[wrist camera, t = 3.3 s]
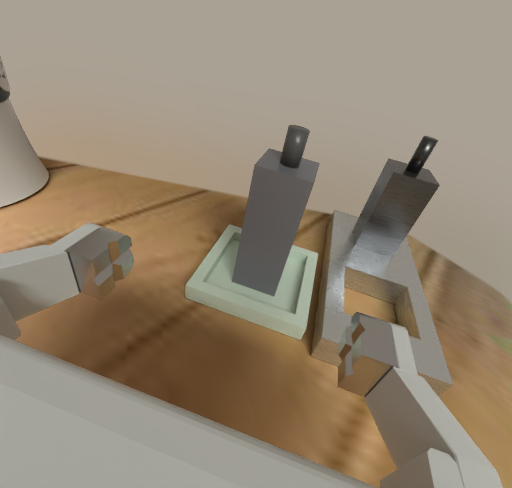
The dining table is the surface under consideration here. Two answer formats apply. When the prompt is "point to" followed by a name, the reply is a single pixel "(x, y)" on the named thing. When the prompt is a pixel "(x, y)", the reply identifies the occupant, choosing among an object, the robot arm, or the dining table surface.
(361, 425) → the dining table surface
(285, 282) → the tray
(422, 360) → the pillar on holed base
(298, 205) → the plug
